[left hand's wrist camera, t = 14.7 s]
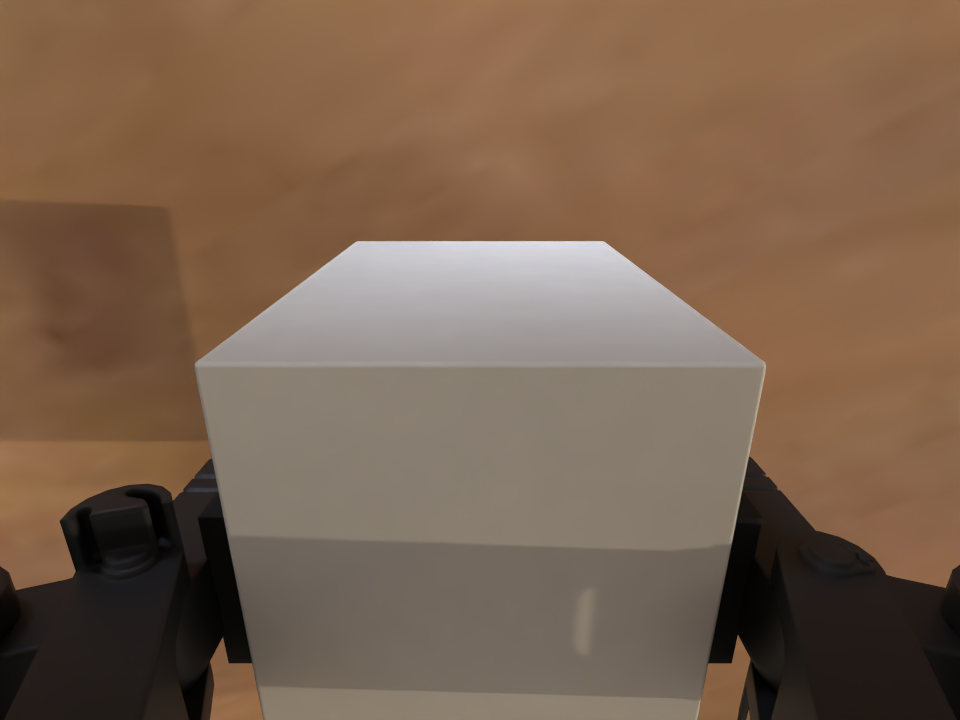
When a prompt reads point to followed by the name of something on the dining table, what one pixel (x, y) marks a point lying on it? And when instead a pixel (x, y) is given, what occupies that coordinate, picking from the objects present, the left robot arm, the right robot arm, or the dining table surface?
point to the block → (480, 484)
